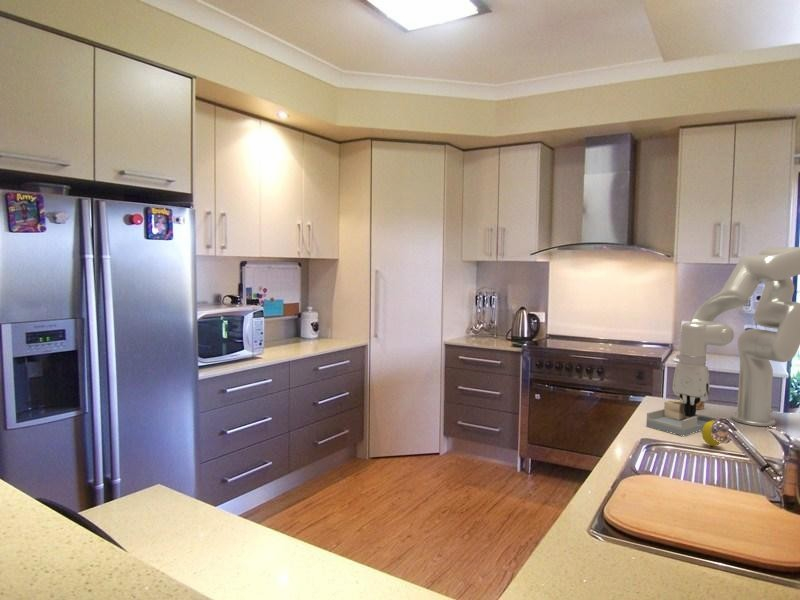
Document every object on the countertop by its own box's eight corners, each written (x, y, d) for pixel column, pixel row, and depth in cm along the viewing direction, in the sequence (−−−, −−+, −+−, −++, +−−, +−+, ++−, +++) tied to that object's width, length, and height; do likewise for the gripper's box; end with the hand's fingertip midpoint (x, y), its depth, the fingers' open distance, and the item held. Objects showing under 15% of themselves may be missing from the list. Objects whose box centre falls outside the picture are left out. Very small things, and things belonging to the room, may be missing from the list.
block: (672, 414, 188) (672, 400, 188) (686, 417, 184) (686, 402, 184) (664, 416, 185) (664, 402, 185) (679, 419, 181) (679, 404, 181)
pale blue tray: (682, 416, 193) (683, 402, 193) (718, 425, 183) (719, 410, 183) (646, 426, 181) (647, 411, 181) (682, 436, 171) (683, 420, 170)
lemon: (727, 450, 159) (728, 423, 158) (707, 450, 159) (709, 422, 158) (716, 444, 164) (717, 417, 164) (697, 443, 164) (699, 417, 164)
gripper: (664, 358, 183) (661, 412, 185) (710, 365, 171) (707, 423, 172) (676, 356, 188) (674, 408, 189) (722, 363, 175) (719, 419, 177)
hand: (689, 415), depth 181 cm, fingers closed
